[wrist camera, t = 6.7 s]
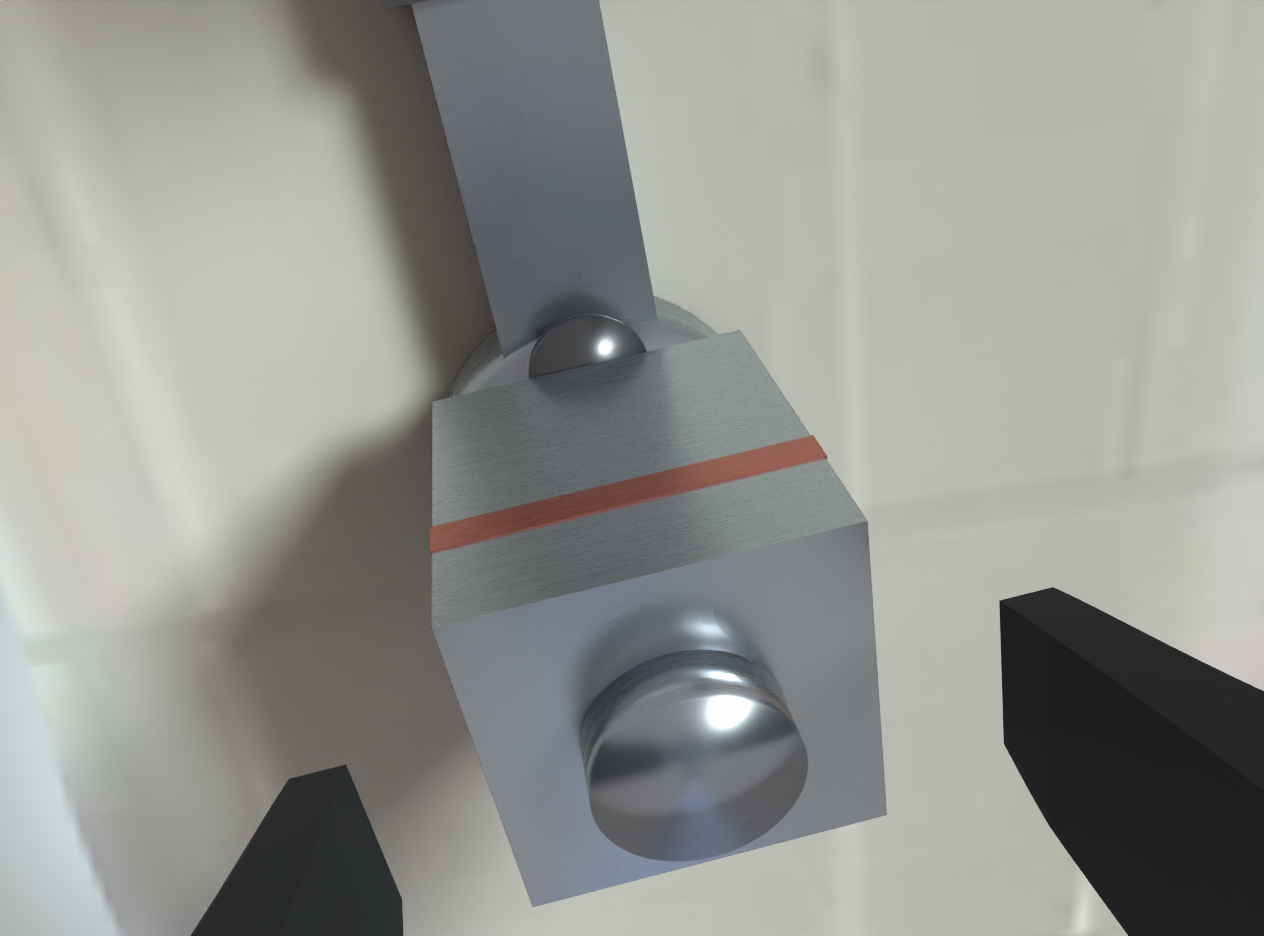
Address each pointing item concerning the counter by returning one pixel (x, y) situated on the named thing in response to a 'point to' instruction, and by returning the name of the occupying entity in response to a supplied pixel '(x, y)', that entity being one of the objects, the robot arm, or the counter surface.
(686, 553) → the striped cube with knob
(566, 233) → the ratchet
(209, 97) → the counter surface
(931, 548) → the counter surface
